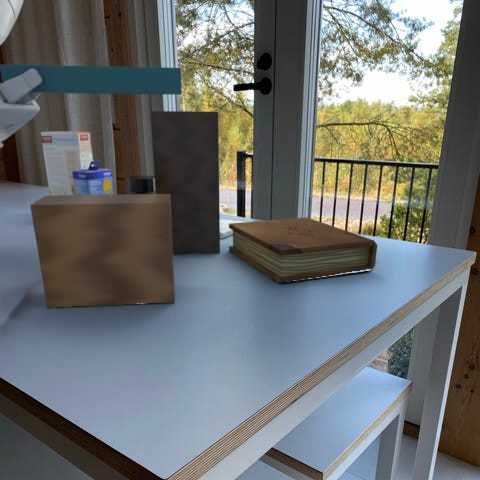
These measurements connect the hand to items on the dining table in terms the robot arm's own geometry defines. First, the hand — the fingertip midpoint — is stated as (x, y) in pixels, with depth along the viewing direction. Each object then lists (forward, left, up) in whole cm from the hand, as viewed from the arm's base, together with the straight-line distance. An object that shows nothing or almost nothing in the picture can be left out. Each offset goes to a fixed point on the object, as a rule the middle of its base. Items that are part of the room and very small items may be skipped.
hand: (44, 75), depth 60 cm
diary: (+38, +15, -30) cm, 51 cm away
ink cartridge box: (-6, +63, -30) cm, 70 cm away
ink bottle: (+8, +47, -30) cm, 56 cm away
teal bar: (+6, 0, -2) cm, 7 cm away
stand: (+18, +26, -30) cm, 44 cm away
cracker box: (-16, +85, -30) cm, 92 cm away
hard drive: (+26, +41, -30) cm, 57 cm away
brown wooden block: (+6, -1, -30) cm, 30 cm away
